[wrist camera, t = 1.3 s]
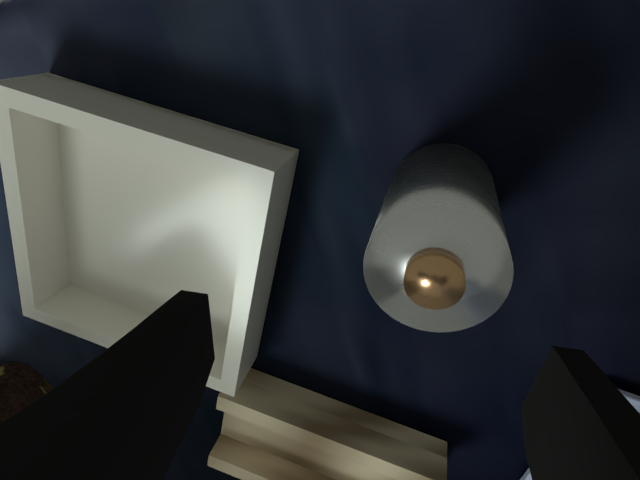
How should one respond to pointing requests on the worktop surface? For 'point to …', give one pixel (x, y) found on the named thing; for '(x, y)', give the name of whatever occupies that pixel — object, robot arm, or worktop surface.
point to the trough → (316, 438)
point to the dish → (139, 214)
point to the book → (19, 388)
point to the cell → (439, 242)
